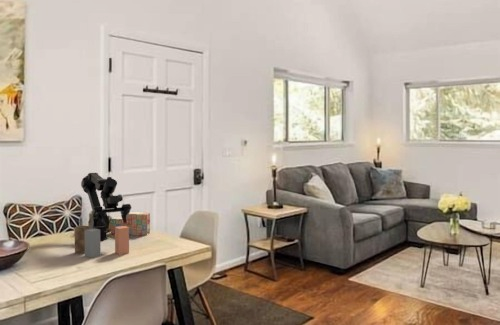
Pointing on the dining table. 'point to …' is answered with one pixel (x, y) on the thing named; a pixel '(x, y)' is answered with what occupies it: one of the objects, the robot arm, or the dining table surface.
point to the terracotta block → (122, 240)
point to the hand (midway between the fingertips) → (116, 224)
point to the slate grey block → (92, 243)
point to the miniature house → (106, 228)
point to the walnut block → (80, 239)
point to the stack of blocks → (133, 223)
